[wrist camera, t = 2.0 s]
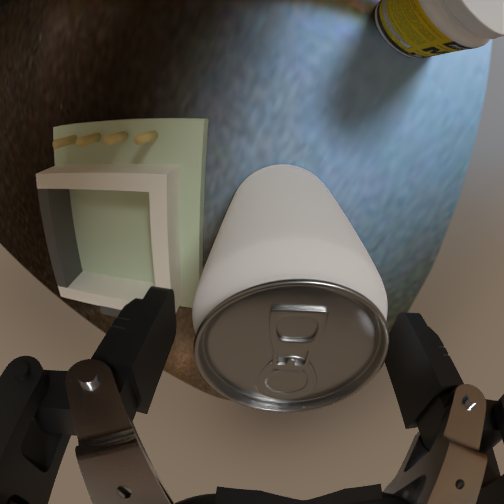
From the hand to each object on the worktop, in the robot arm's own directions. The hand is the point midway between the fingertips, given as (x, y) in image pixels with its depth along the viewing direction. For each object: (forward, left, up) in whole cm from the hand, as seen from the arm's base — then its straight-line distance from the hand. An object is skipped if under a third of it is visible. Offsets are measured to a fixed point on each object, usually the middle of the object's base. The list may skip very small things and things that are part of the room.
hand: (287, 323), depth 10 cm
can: (0, 0, -10) cm, 10 cm away
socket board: (+1, -11, -10) cm, 14 cm away
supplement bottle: (-14, +6, -10) cm, 19 cm away
